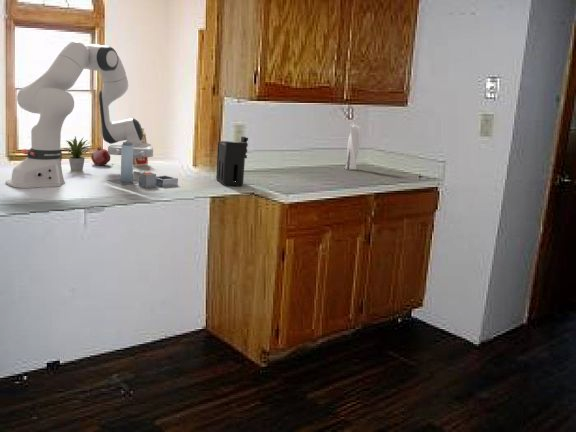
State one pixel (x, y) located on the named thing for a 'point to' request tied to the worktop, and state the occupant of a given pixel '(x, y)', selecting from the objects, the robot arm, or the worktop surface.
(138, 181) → the mat
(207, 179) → the worktop surface
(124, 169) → the block
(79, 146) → the house plant
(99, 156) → the fruit
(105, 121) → the robot arm
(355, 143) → the skyscraper
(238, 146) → the black machined bracket
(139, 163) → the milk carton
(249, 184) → the worktop surface
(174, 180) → the filter head
